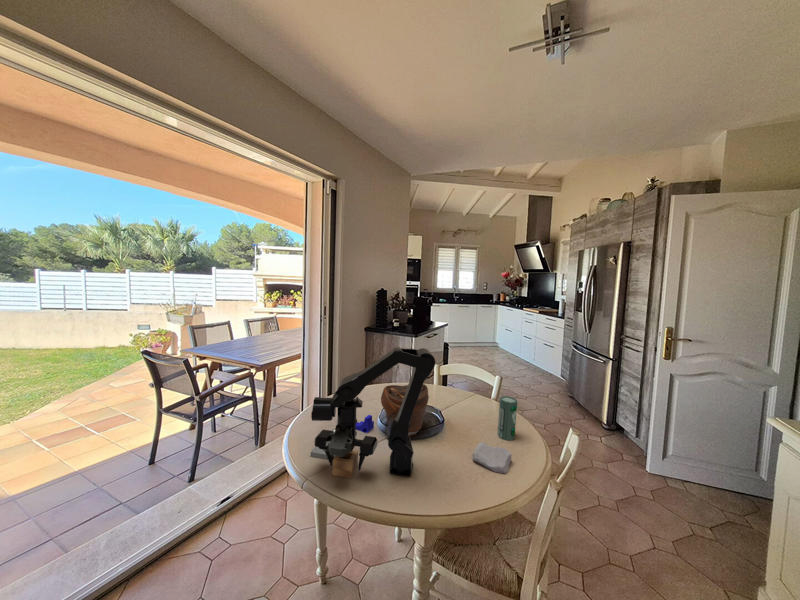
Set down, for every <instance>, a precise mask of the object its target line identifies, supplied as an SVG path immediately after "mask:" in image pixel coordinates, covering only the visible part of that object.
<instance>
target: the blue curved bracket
mask: <svg viewBox="0 0 800 600" xmlns="http://www.w3.org/2000/svg"><path fill="white" fill-rule="evenodd" d="M373 429H375V421H374V420H373V415H371V414H368V415H366V416H365V417H364V420H363V421H362V420H361V421H360V422H358V421H357V423H356V431H360V432H363V433H365V434H368V433H370V432H371V431H372V430H373Z"/></svg>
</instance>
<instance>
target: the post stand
mask: <svg viewBox="0 0 800 600" xmlns="http://www.w3.org/2000/svg"><path fill="white" fill-rule="evenodd" d="M335 428H336V427H334V428H331V431H333V432H334V433H335ZM356 439H358V438H357V437H356ZM310 457H312V458H318V459H319V458H320V459H324V460H328V458H327V455H326V453H325V451H323V450H322V449H319V447H315V446H314V447H313V449H312V450H311V451H310ZM334 457H335V455H334Z"/></svg>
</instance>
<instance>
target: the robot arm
mask: <svg viewBox="0 0 800 600" xmlns="http://www.w3.org/2000/svg"><path fill="white" fill-rule="evenodd" d="M398 364H402V365H404V366H405V365H406V366H408V367H411V375H410V378H409V382H408V384H407V385H408V387H407V390H406V393H405V395H404V398H403V401H402V404H401V407H400V410H399V413H398V415H397V417H396V418H395V419H391V418H390V421H389V425H388V424H387V426H386V428H385V430H386V433H385V434H386V440H387V444H388V448H389V449H390V450H391V453H390V455H389V469H390V471H389V474H390V475H396V476H401V477H402V476H403V477H408V478H410V477H412V471H413V467H414V463H413V456H414V449H413V445H412V440H411V436H408V432H409V423H410V420H411V417H412V414H413V411H414V408H415V406H416V403H417V400H418V397H419V394H420V391H421V389H422V386H423V384H424V383H425V381H426V380H427V379H428V378H429V377H430V375H431V374H432V372H433V370H434V368H435V366H436V359H435V357H434V355H433V354H432V352H431V351H430V350H429V349H427V348H419V349H415V348H402V347H396V346H395V347H393V348H392V349H391V350H390V351H389V352H388V353H386V354H384V355H383V356H381V357H380V358H379V359H377V360H376V361H374V362H373V363H372V364H370V365H368V366H367V367H366V368H364V369H363V370H361V371H359V372H355V373H352V374H350V375H347V376H345V377H343V378H342V379H341V380H340V382H339V383H338V387H337V390H336V391H334V393H333V395H332V397H317V396H315V397H314V399H313V404H312V410H311V412H310V414H311V417H310V418H311V421H313V422H315V421H316V422H321V421H324V422H330V421H332V420H333V418H336V413H337V420H336V423H337V424H336V425H335V427H334V428H335V433H334V432H333V431H332V429H331V430H330V429H322V430H320V432H318V434H317V436H315V438H314V447H319V449H322V450H323V451H325V453H326V455H327V458H328V459H327V460H328V463H329V465H330V466H331V467H333V459H334V455H335V456H340V457H344V456H345V455H346V453H347V454H348V452H352V451H354V448H355V447H359V452H358V467H357V470H358V472H359V471H361V469H362V466H363V464H364V461H365V459H366V457H369V456H372V455H373V454H374V452H375V450H376V448H377V446H378V439H377V436H370V435H365V436H364V437H363V438H362V439H359V438H357V435H358V432H357V430H356V423H357V422H358V419H357V408H360V409H361V408H362V407H363V400H362V399H360V398H359V397H358V396H359V395H360V394H361V392H362V391H363V390H364V389H365V388H366V387H367V386H368V385H369V384H370V383H371V382H373V381H374V380H376V379H378V378H379V377H381V376H382V375H383V374H385V373H386V372H387V371H389V370H391V369H392V368H393V367H395V366H397V365H398ZM356 438H357V439H356Z"/></svg>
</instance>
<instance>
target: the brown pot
mask: <svg viewBox="0 0 800 600" xmlns="http://www.w3.org/2000/svg"><path fill="white" fill-rule="evenodd" d="M407 387H408V384H406V385H405V384H404V385H397V384H396V385H394V384H390V385H385V387H383V389H382V393H381V396H380V402H381V407H383V409H384V410H385V415H386V419H387V420H386V421H387V426H388V425H389V421H390V418H391V419H395V418H396V417H397V415H398V413H399V410H400V407H401V404H402V401H403V398H404V395H405V393H406V390H407ZM429 399H430V396H429V388H428V386H427V385H426V384H424V383H423V386H422V389H421V391H420V394H419V397H418V400H417V403H416V406H415V408H414V411H413V414H412V417H411V420H410V423H409V432H415V431H418V430H420V429H421V430H422V426H423V422H424V418H425V413H426V410H427V406H428V402H429ZM421 430H420V431H421ZM409 432H408V433H409ZM415 435H417V434H415ZM415 435H414V434H411V435H408V436H409V437H412V436H413V437H414V436H415Z"/></svg>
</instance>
